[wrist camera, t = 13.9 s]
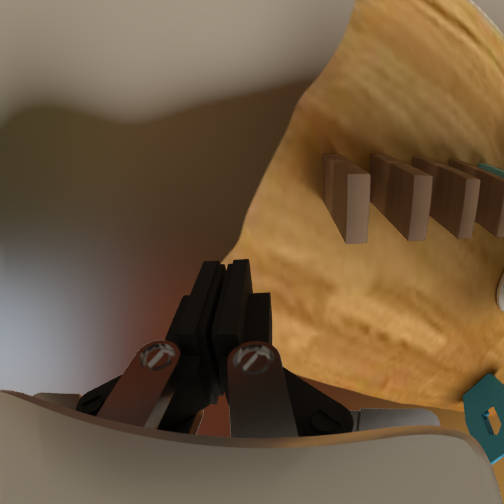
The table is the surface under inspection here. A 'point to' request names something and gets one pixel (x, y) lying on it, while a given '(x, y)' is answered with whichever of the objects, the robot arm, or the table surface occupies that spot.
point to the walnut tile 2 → (401, 195)
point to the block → (476, 414)
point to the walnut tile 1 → (347, 197)
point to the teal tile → (492, 169)
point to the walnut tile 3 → (451, 196)
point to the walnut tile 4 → (486, 197)
